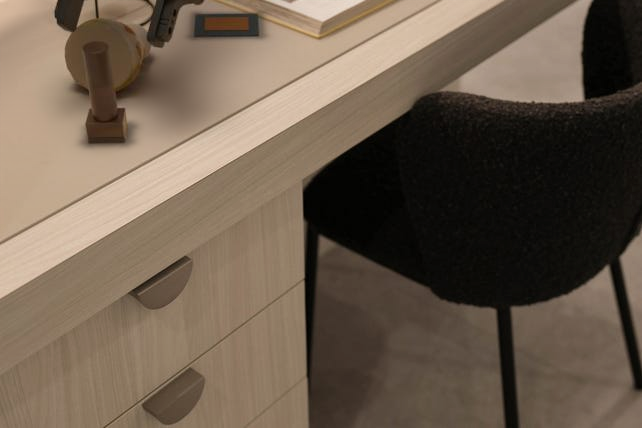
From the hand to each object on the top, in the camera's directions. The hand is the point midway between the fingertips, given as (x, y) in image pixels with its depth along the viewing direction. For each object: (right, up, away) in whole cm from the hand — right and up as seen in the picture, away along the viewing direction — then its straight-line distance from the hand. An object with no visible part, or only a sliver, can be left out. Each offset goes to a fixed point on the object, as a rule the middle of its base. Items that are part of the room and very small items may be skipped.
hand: (108, 36), depth 74 cm
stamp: (-1, -8, +4) cm, 9 cm away
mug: (-2, -1, +13) cm, 13 cm away
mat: (+8, +5, +22) cm, 24 cm away
